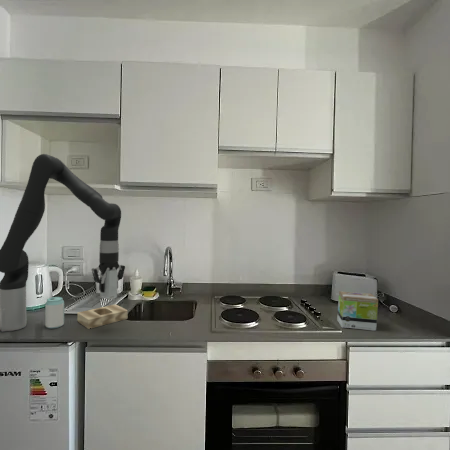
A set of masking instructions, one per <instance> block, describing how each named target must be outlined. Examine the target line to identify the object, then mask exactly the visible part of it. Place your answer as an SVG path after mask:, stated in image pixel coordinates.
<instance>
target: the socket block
mask: <svg viewBox="0 0 450 450" xmlns="http://www.w3.org/2000/svg"><path fill="white" fill-rule="evenodd" d="M128 311H129V310H128V309H126V308H124V307H122V306H119V305H118V304H110V305H106V306H101V307H97V308H92V309H88V310H83V311H78V312H77V317H76V318H77V322H78V323H79V324H80V325H82V326H83V327H85V328H86V329H87V330H91V329H94V328H97V327H101V326H104V325H109V324H112V323H113V324H114V323H116V322H119V321H120V322H121V321H124V320H127V319H128ZM90 328H91V329H90Z"/></svg>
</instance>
